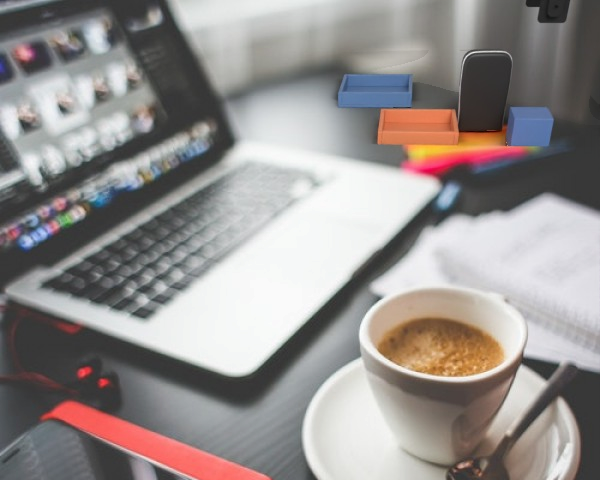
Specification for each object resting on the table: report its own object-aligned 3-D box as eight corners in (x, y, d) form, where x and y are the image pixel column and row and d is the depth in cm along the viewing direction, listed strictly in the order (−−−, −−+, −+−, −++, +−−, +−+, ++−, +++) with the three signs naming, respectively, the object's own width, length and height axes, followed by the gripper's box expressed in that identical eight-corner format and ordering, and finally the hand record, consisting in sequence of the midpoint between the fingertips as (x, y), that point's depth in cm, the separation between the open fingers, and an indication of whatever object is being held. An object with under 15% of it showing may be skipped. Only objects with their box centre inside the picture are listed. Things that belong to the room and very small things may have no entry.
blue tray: (411, 88, 113) (412, 74, 112) (411, 107, 104) (412, 92, 103) (344, 88, 115) (344, 74, 114) (338, 107, 106) (338, 92, 105)
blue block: (541, 141, 89) (547, 107, 87) (547, 155, 85) (554, 118, 83) (505, 141, 90) (510, 106, 87) (509, 154, 86) (514, 118, 83)
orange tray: (453, 125, 97) (455, 109, 95) (457, 149, 88) (459, 132, 87) (380, 124, 98) (381, 108, 97) (377, 148, 90) (377, 131, 89)
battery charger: (499, 124, 96) (511, 45, 90) (503, 132, 93) (515, 52, 87) (453, 124, 97) (461, 46, 90) (455, 133, 94) (464, 53, 87)
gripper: (634, -159, 61) (591, 29, 70) (593, -156, 75) (562, 1, 84) (553, -156, 62) (522, 29, 71) (527, -154, 76) (505, 1, 85)
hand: (544, 14), depth 78 cm, fingers open, 9 cm apart
